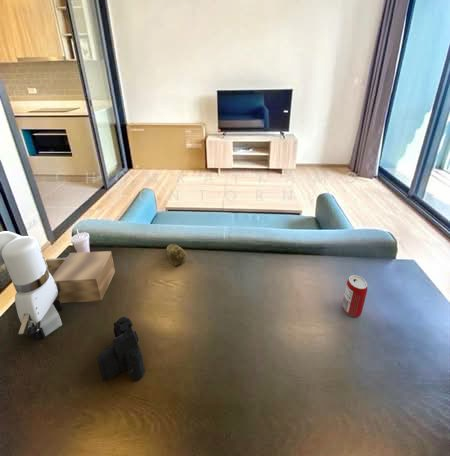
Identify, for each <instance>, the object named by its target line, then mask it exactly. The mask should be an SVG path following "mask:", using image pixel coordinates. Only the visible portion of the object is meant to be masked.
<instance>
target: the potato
mask: <svg viewBox="0 0 450 456" xmlns="http://www.w3.org/2000/svg"><path fill="white" fill-rule="evenodd" d="M165 252H166V253H165V254H166V257H167V260H168V261H169V262H170V263H171V265H173V267H174V268H178V267H182V266H183V265H185V263H186V261H187V260H188V254H187V252H186V250H184V249H183V248H182V247H180V246H179V245H177V244H175V243H171V244H168V245H167V247H166V248H165Z"/></svg>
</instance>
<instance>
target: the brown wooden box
mask: <svg viewBox="0 0 450 456" xmlns="http://www.w3.org/2000/svg"><path fill="white" fill-rule="evenodd" d="M65 258H66V259H65V260H64V262H63V263H62V264H61V266H60V267H59V268H58V270H57V271H56V272H55V274H54V275H53V276H52V277H53V279H54V281H59V284H60V287H59V288H60V292H59V296H60V299H59V301H60V304H69V303H88V302H89V303H91V302H102V301H103V299H104V297H105V294H106V292H107V290H108V288H109V286H110V284H111V282H112V279H113V277H114V275H115V273H116V269H115V264H114V259H113V254H112V250H105V251H90V252H79V253H77V252H69V254H68V255H67V256H66V257H65Z"/></svg>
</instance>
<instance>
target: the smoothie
mask: <svg viewBox="0 0 450 456" xmlns="http://www.w3.org/2000/svg"><path fill="white" fill-rule="evenodd" d="M75 232H76V234H74V235H73V236H71V238H70V243H71V244H72V245H73V247H74V249H75V251H76V253H79V252H91V249H90V234H89V233H88V232H86V231H83V232H79V229H78V228H75Z"/></svg>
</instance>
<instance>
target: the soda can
mask: <svg viewBox="0 0 450 456" xmlns="http://www.w3.org/2000/svg"><path fill="white" fill-rule="evenodd" d="M367 293H368V282H367V280H366V279H364V278H363V277H362V276H359V275H356V274H352V275H350V276H349V277H348V279H347V281H346V284H345V289H344V293H343V298H342V304H341V306H342V307H341V308H342V309H343V311H344V312H345V314H346V315H349V317H354V318H358V317H361V315H362V313H363V309H364V305H365V301H366V298H367Z"/></svg>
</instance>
